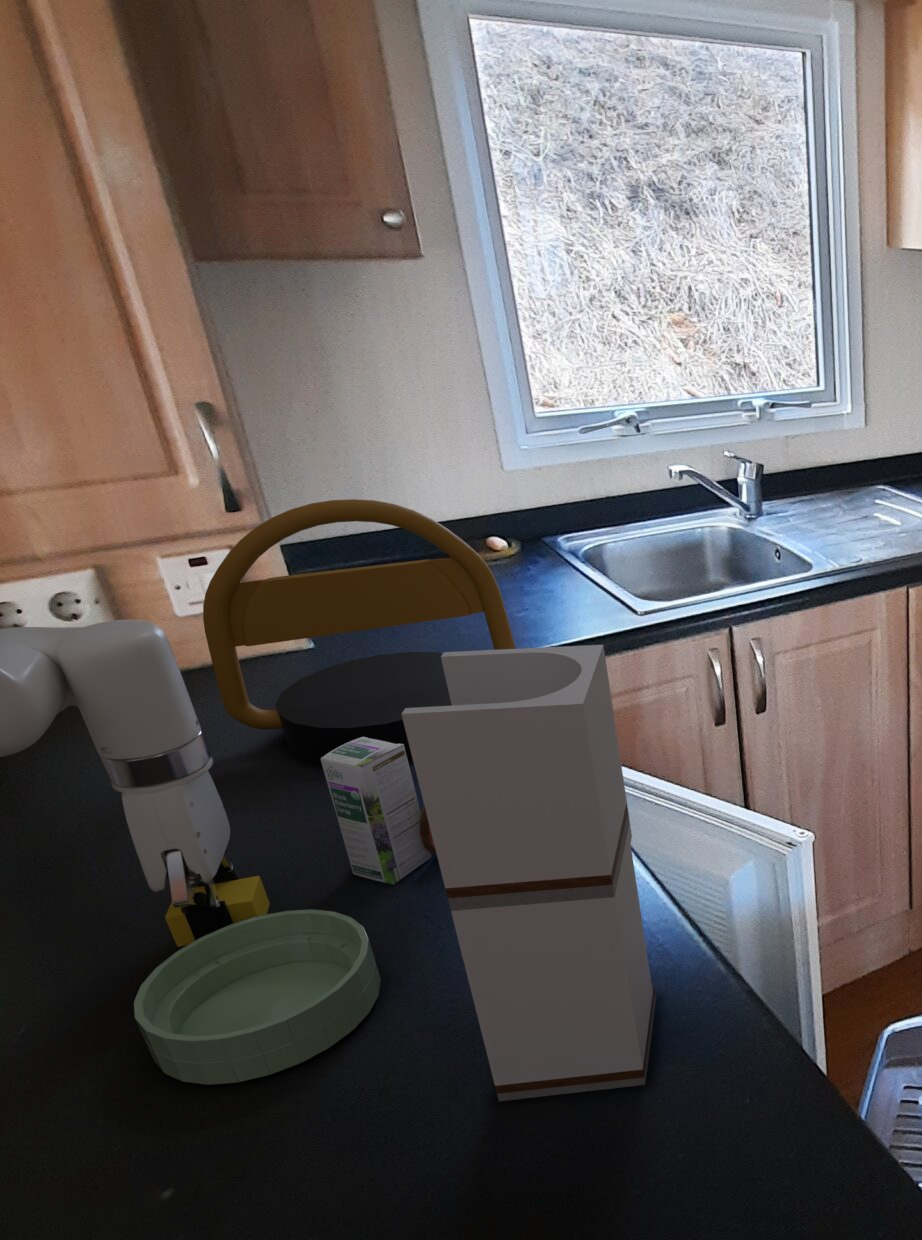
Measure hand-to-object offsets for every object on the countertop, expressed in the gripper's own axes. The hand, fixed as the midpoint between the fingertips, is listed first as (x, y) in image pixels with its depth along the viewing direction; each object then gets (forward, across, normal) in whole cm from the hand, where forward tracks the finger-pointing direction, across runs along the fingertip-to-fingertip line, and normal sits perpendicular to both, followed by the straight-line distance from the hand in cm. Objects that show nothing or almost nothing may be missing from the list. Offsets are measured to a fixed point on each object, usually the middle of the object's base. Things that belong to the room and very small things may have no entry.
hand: (222, 922), depth 101 cm
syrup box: (+3, -8, +14) cm, 16 cm away
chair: (+3, -45, +12) cm, 47 cm away
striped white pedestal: (+3, +28, +31) cm, 42 cm away
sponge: (0, 0, 0) cm, 0 cm away
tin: (+3, -12, +22) cm, 26 cm away
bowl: (+2, +14, +6) cm, 15 cm away
